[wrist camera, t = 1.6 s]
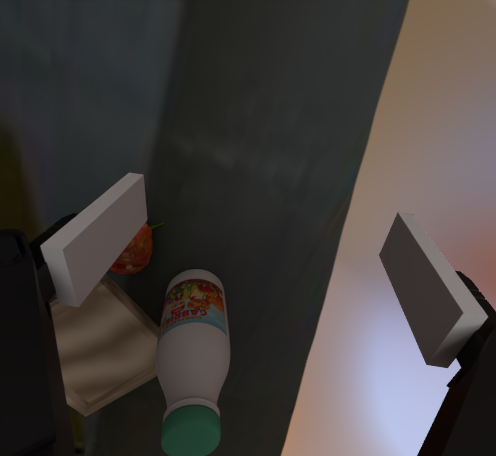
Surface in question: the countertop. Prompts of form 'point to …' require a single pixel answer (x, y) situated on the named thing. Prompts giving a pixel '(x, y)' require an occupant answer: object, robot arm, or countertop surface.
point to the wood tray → (104, 346)
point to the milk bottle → (192, 362)
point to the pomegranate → (136, 252)
